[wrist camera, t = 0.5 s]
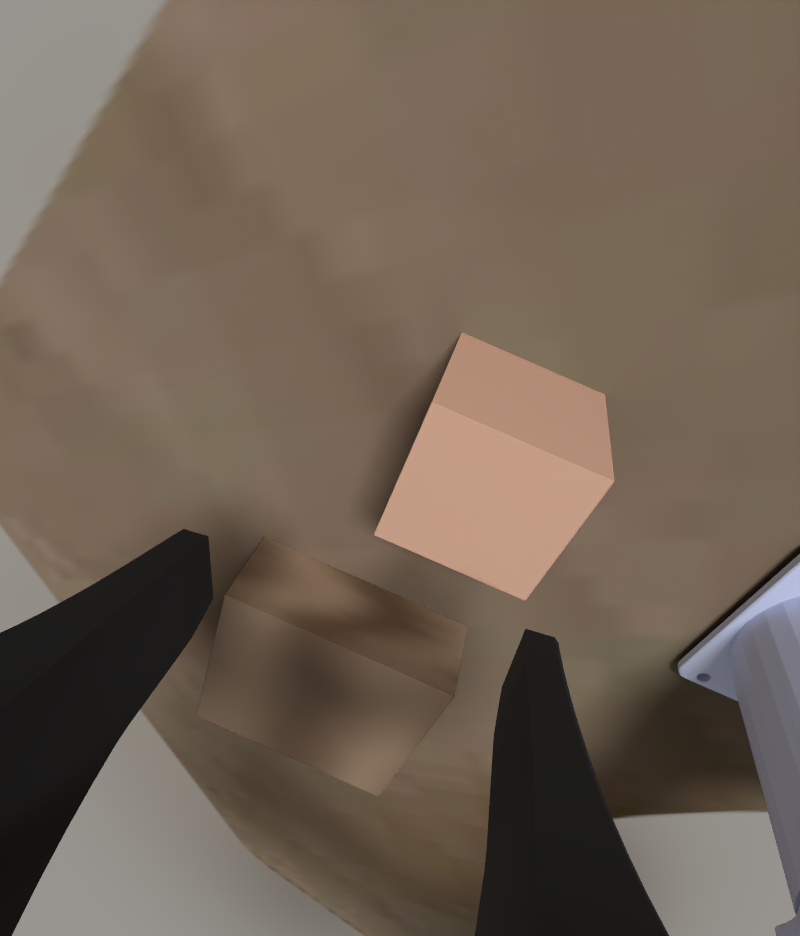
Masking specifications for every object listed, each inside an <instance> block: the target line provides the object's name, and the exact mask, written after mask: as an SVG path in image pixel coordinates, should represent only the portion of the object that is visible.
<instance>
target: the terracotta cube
mask: <svg viewBox="0 0 800 936" xmlns="http://www.w3.org/2000/svg"><path fill="white" fill-rule="evenodd" d="M613 482H614V473H613V463H612V454H611V445H610V436H609V427H608V418H607V409H606V400H605V394H602V393H600V392H598V391H595V390H593V389H591V388H588V387H586V386H584V385H582V384H579V383H577V382H575V381H572V380H570V379H568V378H565V377H563V376H561V375H559V374H556V373H554V372H552V371H549V370H547V369H545V368H542V367H540V366H538V365H536V364H533V363H531V362H529V361H526V360H524V359H522V358H520V357H517V356H515V355H513V354H510V353H508V352H506V351H503V350H501V349H499V348H497V347H494V346H492V345H490V344H487V343H485V342H483V341H480V340H478V339H476V338H474V337H471V336H469V335H467V334H464V333H461V335H460V338H459V340H458V342H457V345H456V347H455V349H454V352H453V354H452V356H451V358H450V361H449V363H448V365H447V368H446V370H445V372H444V374H443V377H442V379H441V381H440V384H439V386H438V388H437V390H436V393H435V395H434V397H433V400H432V402H431V404H430V407H429V409H428V411H427V413H426V416H425V418H424V420H423V423H422V425H421V427H420V429H419V432H418V434H417V436H416V439H415V441H414V443H413V445H412V448H411V450H410V452H409V455H408V457H407V459H406V462H405V464H404V466H403V469H402V471H401V473H400V476H399V478H398V480H397V483H396V485H395V487H394V489H393V492H392V494H391V496H390V499H389V501H388V503H387V506H386V508H385V510H384V513H383V515H382V517H381V520H380V522H379V524H378V527H377V529H376V531H375V534H374V535H375V536H378V537H380V538H382V539H385V540H387V541H389V542H391V543H394V544H396V545H398V546H401V547H403V548H405V549H408V550H410V551H412V552H414V553H417V554H419V555H421V556H424V557H426V558H428V559H430V560H433V561H435V562H437V563H440V564H442V565H444V566H447V567H449V568H451V569H453V570H456V571H458V572H460V573H463V574H465V575H467V576H470V577H472V578H474V579H476V580H479V581H481V582H483V583H486V584H488V585H490V586H493V587H495V588H497V589H499V590H502V591H504V592H506V593H509V594H511V595H513V596H516V597H518V598H520V599H522V600H526V599H527V598H528V596H529V595H530V594H531V592H532V591H533V590H534V588H535V587H536V585H537V584H538V583H539V581H540V580H541V579H542V577H543V576H544V575H545V573H546V572H547V571H548V569H549V568H550V567H551V565H552V564H553V563H554V561H555V560H556V559H557V557H558V556H559V555H560V553H561V552H562V551H563V549H564V548H565V547H566V545H567V544H568V543H569V541H570V540H571V539H572V537H573V536H574V535H575V533H576V532H577V531H578V529H579V528H580V527H581V525H582V524H583V523H584V521H585V520H586V519H587V517H588V516H589V515H590V513H591V512H592V511H593V509H594V508H595V507H596V505H597V504H598V503H599V501H600V500H601V499H602V497H603V496H604V495H605V493H606V492H607V491H608V489H609V488H610V487H611V485H612V484H613Z"/></svg>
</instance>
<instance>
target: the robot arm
mask: <svg viewBox="0 0 800 936" xmlns="http://www.w3.org/2000/svg"><path fill="white" fill-rule="evenodd" d="M212 599H213V590H212V578H211V565H210V552H209V540H208V536H205V535H202V534H198V533H195V532H192V531H188V530H185V529H183V530H181V531H180V532H178V533H176V534H175V535H173V536H171V537H170V538H168V539H166V540H165V541H163V542H162V543H160V544H158V545H157V546H155V547H154V548H152V549H150V550H149V551H147V552H146V553H144V554H142V555H141V556H139V557H138V558H136V559H134V560H133V561H131V562H129V563H128V564H126V565H125V566H123V567H121V568H120V569H118V570H116V571H115V572H113V573H111V574H110V575H108V576H106V577H105V578H103V579H101V580H100V581H98V582H96V583H95V584H93V585H91V586H89V587H88V588H86V589H84V590H83V591H81V592H79V593H77V594H75V595H73V596H72V597H70V598H68V599H66V600H64V601H62V602H61V603H59V604H57V605H55V606H53V607H51V608H50V609H48V610H46V611H44V612H42V613H40V614H38V615H37V616H34V617H33V618H31V619H28V620H27V621H24V622H22V623H20V624H19V625H16V626H14V627H12V628H10V629H8V630H5V631H4V632H1V633H0V936H12V934H13V932H14V930H15V928H16V926H17V924H18V922H19V920H20V918H21V916H22V914H23V912H24V910H25V908H26V906H27V904H28V902H29V900H30V897H31V896H32V894H33V892H34V890H35V888H36V886H37V884H38V882H39V880H40V878H41V876H42V874H43V872H44V870H45V869H46V867H47V865H48V863H49V861H50V859H51V857H52V856H53V854H54V852H55V850H56V848H57V846H58V844H59V842H60V841H61V839H62V837H63V835H64V833H65V831H66V829H67V828H68V826H69V824H70V822H71V820H72V819H73V817H74V815H75V813H76V812H77V810H78V808H79V806H80V805H81V803H82V801H83V799H84V797H85V796H86V794H87V792H88V790H89V789H90V787H91V785H92V783H93V782H94V780H95V778H96V777H97V775H98V773H99V772H100V770H101V768H102V767H103V765H104V763H105V762H106V760H107V758H108V756H109V754H110V753H111V751H112V749H113V748H114V746H115V745H116V743H117V742H118V740H119V738H120V737H121V736H122V734H123V732H124V731H125V729H126V728H127V726H128V725H129V724H130V722H131V721H132V720H133V718H134V717H135V715H136V714H137V712H138V711H139V710H140V709H141V707H142V706H143V704H144V703H145V702H146V700H147V699H148V698H149V696H150V695H151V693H152V692H153V691H154V689H155V688H156V687H157V685H158V684H159V682H160V681H161V680H162V678H163V677H164V676H165V674H166V673H167V671H168V670H169V669H170V667H171V666H172V664H173V663H174V662H175V660H176V659H177V657H178V656H179V655H180V653H181V652H182V651H183V649H184V648H185V646H186V645H187V643H188V642H189V641H190V639H191V638H192V636H193V634H194V632H195V631H196V629H197V627H198V625H199V624H200V622H201V620H202V618H203V616H204V614H205V613H206V611H207V609H208V607H209V605H210V603H211V601H212ZM678 671H679V674H680V675H681V676H682V677H684V678H685V679H688V680H690V681H692V682H695V683H697V684H699V685H702V686H704V687H706V688H708V689H711V690H713V691H715V692H718V693H720V694H722V695H724V696H727V697H729V698H731V699H734V700H736V701H738V702H739V706H740V710H741V713H742V717H743V721H744V725H745V728H746V732H747V736H748V739H749V743H750V747H751V750H752V754H753V758H754V762H755V765H756V769H757V773H758V776H759V780H760V784H761V788H762V791H763V795H764V799H765V802H766V806H767V810H768V814H769V817H770V821H771V825H772V828H773V832H774V836H775V839H776V843H777V847H778V850H779V854H780V858H781V862H782V865H783V869H784V873H785V877H786V880H787V884H788V888H789V891H790V895H791V899H792V902H793V906H794V910H795V913H796V916H795V917H794V918H793V919H792V920H790V921H788V922H787V923H784V924H781V925H778V926H776V927H775V931H776V936H800V554H799V555H798V556H797V557H795V558H794V559H793V560H792V561H791V562H790V563H789V564H788V565H786V566H785V567H784V568H783V569H782V570H781V571H780V572H779V573H777V574H776V575H775V576H774V577H773V578H772V579H771V580H770V581H768V582H767V583H766V584H765V585H764V586H763V587H762V588H761V589H759V590H758V591H757V592H756V593H755V594H754V595H753V596H752V597H750V598H749V599H748V600H747V601H746V602H745V603H744V604H743V605H742V606H740V607H739V608H738V609H737V610H736V611H735V612H734V613H733V614H731V615H730V616H729V617H728V618H727V619H726V620H725V621H724V622H722V623H721V624H720V625H719V626H718V627H717V628H716V629H715V630H713V631H712V632H711V633H710V634H709V635H708V636H707V637H706V638H704V639H703V640H702V641H701V642H700V643H699V644H698V645H697V646H695V647H694V648H693V649H692V650H691V651H690V652H689V653H688V654H686V655H685V656H684V657H683V658H682V659H681V660H680V661H679V662H678ZM701 673H705V674H701ZM475 936H669V935H668V933H667V931H666V929H665V927H664V925H663V923H662V921H661V920H660V918H659V916H658V914H657V912H656V910H655V908H654V906H653V904H652V902H651V900H650V899H649V897H648V895H647V893H646V891H645V889H644V887H643V885H642V882H641V881H640V878H639V876H638V874H637V872H636V870H635V868H634V866H633V864H632V862H631V860H630V857H629V855H628V853H627V851H626V848H625V846H624V844H623V842H622V839H621V837H620V835H619V833H618V830H617V828H616V826H615V823H614V821H613V818H612V816H611V814H610V811H609V809H608V806H607V804H606V801H605V799H604V796H603V794H602V791H601V788H600V786H599V783H598V780H597V778H596V775H595V772H594V770H593V767H592V764H591V761H590V758H589V755H588V752H587V750H586V746H585V743H584V740H583V737H582V734H581V731H580V728H579V724H578V721H577V718H576V715H575V711H574V708H573V704H572V701H571V697H570V693H569V689H568V686H567V682H566V678H565V673H564V669H563V665H562V660H561V655H560V650H559V644H558V642H557V640H556V639H555V637H552V636H548V635H545V634H541V633H538V632H534V631H531V630H528V629H525V632H524V634H523V637H522V639H521V641H520V644H519V646H518V649H517V651H516V654H515V656H514V659H513V661H512V664H511V666H510V669H509V671H508V674H507V676H506V678H505V681H504V683H503V686H502V690H501V696H500V702H499V708H498V713H497V719H496V726H495V732H494V742H493V757H492V773H491V789H490V805H489V822H488V838H487V851H486V861H485V871H484V878H483V885H482V892H481V899H480V905H479V912H478V919H477V925H476V932H475Z"/></svg>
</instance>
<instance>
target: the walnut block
mask: <svg viewBox="0 0 800 936" xmlns="http://www.w3.org/2000/svg"><path fill="white" fill-rule="evenodd" d="M467 628H468V626H466V625H463V624H461V623H459V622H457V621H454V620H452V619H450V618H448V617H445V616H443V615H441V614H439V613H436V612H434V611H432V610H429V609H427V608H425V607H423V606H420V605H418V604H416V603H414V602H411V601H409V600H407V599H405V598H402V597H400V596H398V595H395V594H393V593H391V592H389V591H386V590H384V589H382V588H380V587H377V586H375V585H373V584H371V583H368V582H366V581H364V580H361V579H359V578H357V577H355V576H352V575H350V574H348V573H346V572H343V571H341V570H339V569H336V568H334V567H332V566H330V565H327V564H325V563H323V562H321V561H318V560H316V559H314V558H312V557H309V556H307V555H305V554H302V553H300V552H298V551H296V550H293V549H291V548H289V547H287V546H284V545H282V544H280V543H278V542H275V541H273V540H271V539H268V538H266V537H264V538H263V540H262V541H261V542H260V544H259V545H258V547H257V548H256V550H255V551H254V553H253V554H252V556H251V557H250V559H249V560H248V562H247V563H246V565H245V566H244V568H243V569H242V570H241V572H240V573H239V575H238V576H237V578H236V579H235V581H234V582H233V584H232V585H231V587H230V588H229V590H228V591H227V593H226V594H225V597H224V601H223V605H222V610H221V614H220V618H219V622H218V627H217V631H216V635H215V639H214V644H213V648H212V652H211V656H210V660H209V665H208V669H207V673H206V677H205V682H204V686H203V690H202V694H201V698H200V703H199V707H198V711H197V715H196V716H198V717H200V718H203V719H205V720H207V721H209V722H212V723H214V724H216V725H218V726H221V727H223V728H225V729H227V730H230V731H232V732H234V733H236V734H239V735H241V736H243V737H245V738H248V739H250V740H252V741H254V742H257V743H259V744H261V745H263V746H266V747H268V748H270V749H272V750H275V751H277V752H279V753H281V754H284V755H286V756H288V757H290V758H293V759H295V760H297V761H299V762H302V763H304V764H306V765H308V766H311V767H313V768H315V769H317V770H320V771H322V772H324V773H326V774H329V775H331V776H333V777H335V778H338V779H340V780H342V781H344V782H347V783H349V784H351V785H353V786H356V787H358V788H360V789H362V790H365V791H367V792H369V793H371V794H374V795H376V796H378V797H379V796H380V794H381V793H382V792H383V790H384V789H385V788H386V786H387V785H388V784H389V782H390V781H391V780H392V778H393V777H394V776H395V774H396V773H397V772H398V770H399V769H400V768H401V766H402V765H403V764H404V762H405V761H406V760H407V759H408V757H409V756H410V755H411V753H412V752H413V751H414V749H415V748H416V747H417V745H418V744H419V743H420V741H421V740H422V739H423V737H424V736H425V735H426V733H427V732H428V731H429V729H430V728H431V727H432V725H433V724H434V723H435V721H436V720H437V719H438V718H439V716H440V715H441V714H442V712H443V711H444V710H445V708H446V707H447V706H448V704H449V703H450V702H451V700H452V699H453V698H454V696H455V691H456V686H457V681H458V675H459V670H460V665H461V660H462V655H463V649H464V644H465V639H466V634H467Z"/></svg>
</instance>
